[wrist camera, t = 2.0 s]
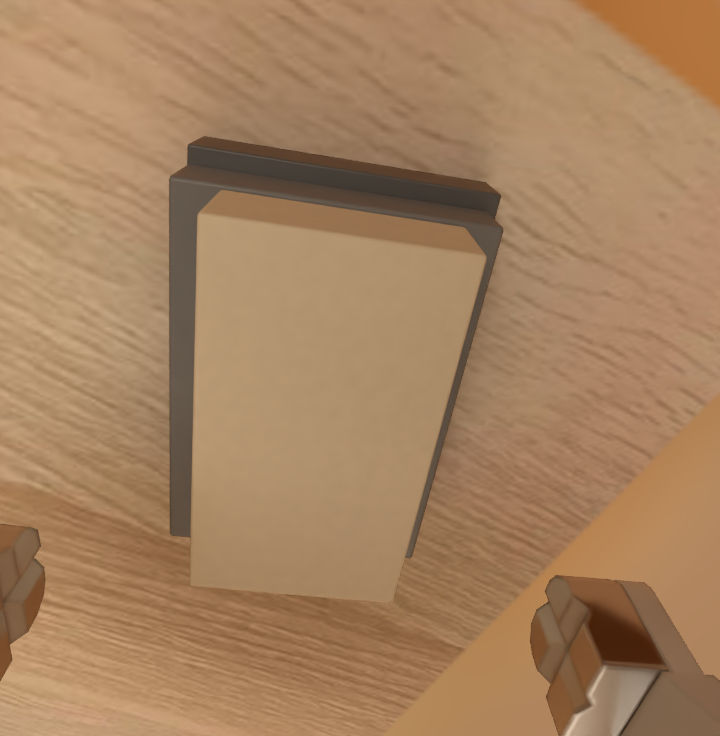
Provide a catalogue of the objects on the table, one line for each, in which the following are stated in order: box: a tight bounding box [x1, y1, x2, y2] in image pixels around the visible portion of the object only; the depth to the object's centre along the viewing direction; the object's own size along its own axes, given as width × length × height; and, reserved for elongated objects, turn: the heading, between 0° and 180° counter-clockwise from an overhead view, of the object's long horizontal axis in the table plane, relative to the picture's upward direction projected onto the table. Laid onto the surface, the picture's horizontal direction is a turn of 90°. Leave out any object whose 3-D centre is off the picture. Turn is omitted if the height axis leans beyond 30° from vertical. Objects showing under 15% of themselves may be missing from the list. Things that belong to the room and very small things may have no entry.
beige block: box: [189, 190, 487, 603], centre depth 12 cm, size 9×5×2 cm, turn 171°
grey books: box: [169, 136, 503, 558], centre depth 15 cm, size 10×7×3 cm
